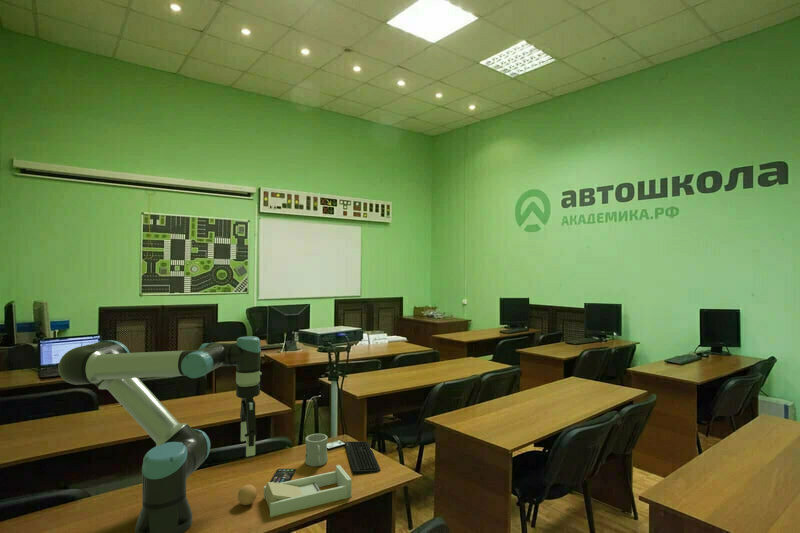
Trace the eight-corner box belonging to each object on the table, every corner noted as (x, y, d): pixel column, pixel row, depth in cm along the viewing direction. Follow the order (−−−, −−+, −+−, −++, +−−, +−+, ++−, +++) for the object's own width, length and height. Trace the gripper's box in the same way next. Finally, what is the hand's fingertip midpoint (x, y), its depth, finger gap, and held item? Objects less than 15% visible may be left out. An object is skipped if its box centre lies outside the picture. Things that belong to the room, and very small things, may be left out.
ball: (238, 510, 139) (238, 491, 139) (236, 501, 145) (236, 483, 145) (258, 506, 142) (258, 487, 142) (255, 497, 147) (255, 479, 147)
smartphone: (296, 468, 169) (287, 487, 154) (296, 470, 169) (287, 489, 154) (277, 468, 169) (266, 487, 154) (277, 470, 169) (266, 489, 154)
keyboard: (381, 473, 166) (381, 467, 166) (353, 476, 164) (353, 470, 164) (368, 443, 195) (368, 439, 195) (344, 445, 193) (344, 441, 193)
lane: (270, 516, 136) (270, 497, 136) (263, 498, 147) (263, 480, 147) (351, 496, 148) (351, 479, 148) (339, 481, 159) (339, 464, 159)
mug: (304, 459, 178) (304, 434, 178) (326, 456, 180) (326, 432, 181) (306, 472, 166) (306, 446, 166) (330, 469, 169) (330, 443, 169)
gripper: (266, 391, 134) (265, 460, 134) (254, 374, 157) (253, 433, 156) (241, 394, 131) (240, 464, 131) (232, 376, 153) (231, 436, 153)
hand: (247, 447), depth 144 cm, fingers open, 13 cm apart
